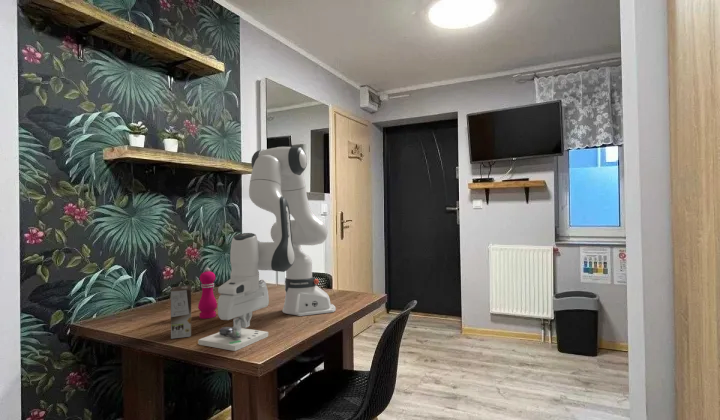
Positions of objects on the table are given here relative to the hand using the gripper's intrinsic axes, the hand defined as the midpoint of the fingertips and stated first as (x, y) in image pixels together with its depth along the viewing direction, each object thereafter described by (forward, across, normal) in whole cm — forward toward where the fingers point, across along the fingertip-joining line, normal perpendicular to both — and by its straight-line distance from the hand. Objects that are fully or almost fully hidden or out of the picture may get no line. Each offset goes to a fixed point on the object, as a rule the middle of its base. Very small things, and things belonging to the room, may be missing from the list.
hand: (245, 326), depth 124 cm
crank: (+3, +1, -5) cm, 6 cm away
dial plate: (+5, 0, -5) cm, 7 cm away
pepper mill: (+5, -20, -37) cm, 42 cm away
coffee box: (+5, +2, -27) cm, 27 cm away
